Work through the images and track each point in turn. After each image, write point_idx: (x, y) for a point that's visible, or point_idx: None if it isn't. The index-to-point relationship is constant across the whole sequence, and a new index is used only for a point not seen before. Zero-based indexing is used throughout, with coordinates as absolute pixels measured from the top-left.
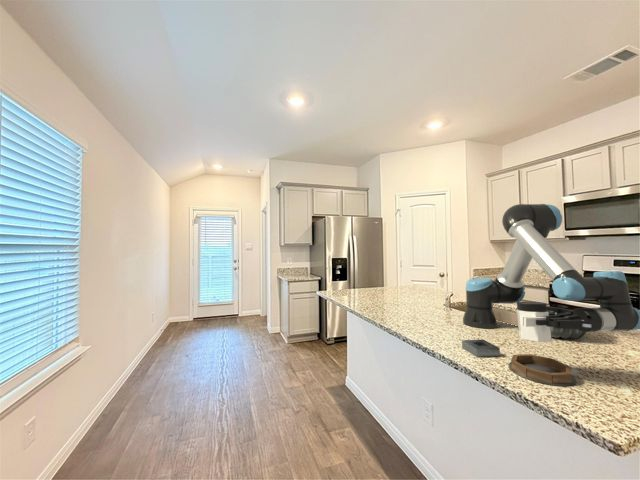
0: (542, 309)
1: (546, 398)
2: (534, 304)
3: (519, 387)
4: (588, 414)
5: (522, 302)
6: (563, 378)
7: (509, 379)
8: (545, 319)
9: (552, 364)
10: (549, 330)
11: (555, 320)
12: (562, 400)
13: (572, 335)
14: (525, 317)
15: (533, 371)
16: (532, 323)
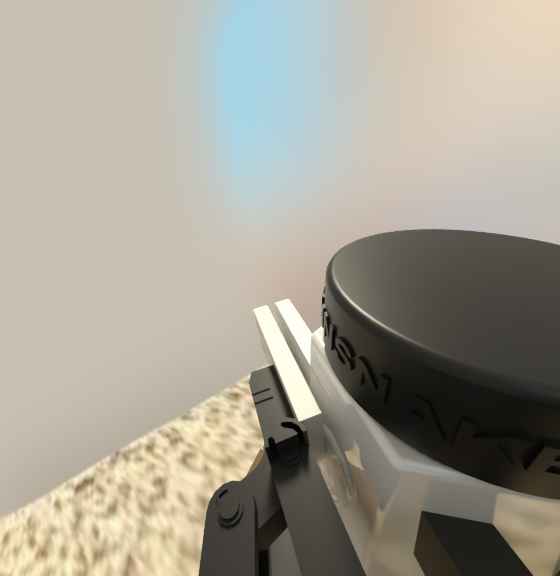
0: (341, 364)
1: (150, 470)
2: (327, 271)
3: (210, 422)
4: (46, 562)
5: (444, 241)
6: None
7: (253, 411)
8: (350, 462)
9: None
10: (359, 551)
11: (213, 495)
12: (130, 518)
13: None
14: (280, 313)
15: (251, 469)
16: (270, 363)
